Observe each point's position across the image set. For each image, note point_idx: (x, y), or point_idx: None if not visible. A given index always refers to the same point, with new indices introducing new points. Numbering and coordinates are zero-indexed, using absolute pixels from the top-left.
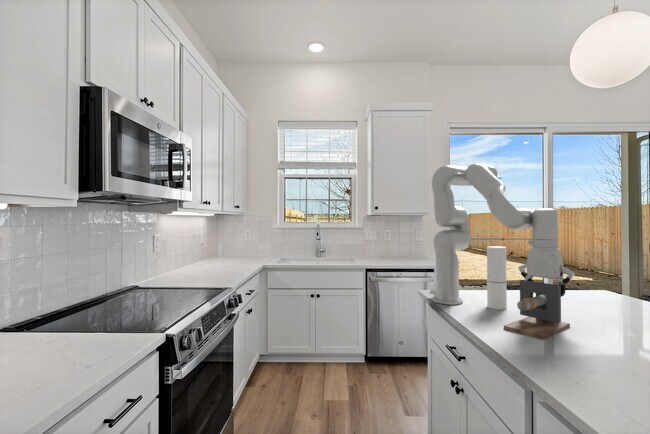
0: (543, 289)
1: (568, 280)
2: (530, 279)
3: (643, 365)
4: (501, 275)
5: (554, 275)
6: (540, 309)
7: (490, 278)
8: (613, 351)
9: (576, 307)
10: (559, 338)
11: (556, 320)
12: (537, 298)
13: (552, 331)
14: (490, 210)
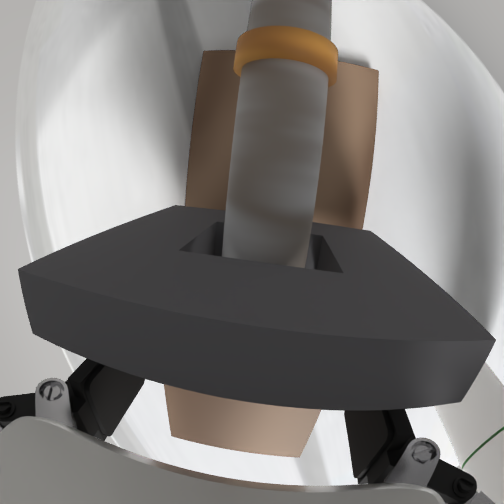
0: (186, 273)
1: (5, 399)
2: (380, 466)
3: (17, 100)
4: (500, 465)
5: (19, 437)
6: None
7: None
8: (48, 137)
9: None
10: (166, 120)
11: (179, 207)
12: (245, 170)
13: (191, 139)
14: None
